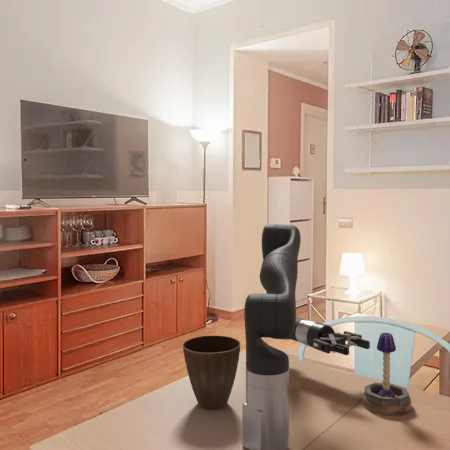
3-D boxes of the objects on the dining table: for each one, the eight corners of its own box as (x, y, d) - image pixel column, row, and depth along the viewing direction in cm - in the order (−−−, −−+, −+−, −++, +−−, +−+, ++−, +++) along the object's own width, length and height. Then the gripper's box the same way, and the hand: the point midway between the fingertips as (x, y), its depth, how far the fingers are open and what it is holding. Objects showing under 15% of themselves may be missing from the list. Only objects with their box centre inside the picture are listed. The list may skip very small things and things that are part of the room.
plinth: (392, 419, 123) (392, 404, 122) (352, 403, 132) (352, 389, 132) (420, 406, 130) (421, 392, 130) (381, 392, 139) (381, 378, 139)
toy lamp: (396, 402, 128) (397, 337, 127) (377, 400, 129) (377, 336, 128) (394, 394, 133) (394, 331, 131) (375, 393, 134) (376, 330, 132)
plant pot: (206, 422, 122) (206, 356, 121) (172, 402, 134) (171, 342, 132) (252, 405, 132) (252, 344, 130) (216, 388, 143) (216, 332, 142)
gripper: (297, 326, 146) (341, 339, 133) (331, 318, 154) (375, 330, 141) (297, 351, 146) (341, 367, 133) (331, 342, 155) (375, 356, 142)
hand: (358, 348), depth 137 cm, fingers open, 8 cm apart
